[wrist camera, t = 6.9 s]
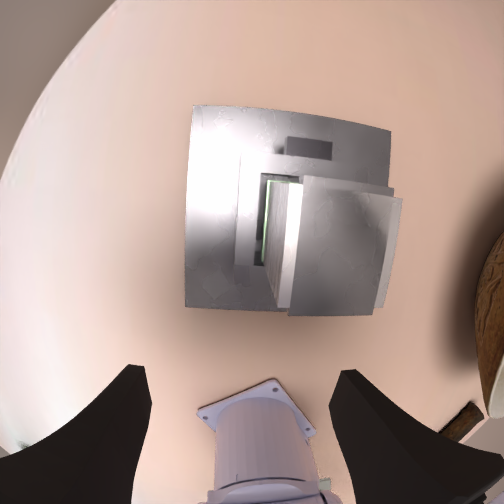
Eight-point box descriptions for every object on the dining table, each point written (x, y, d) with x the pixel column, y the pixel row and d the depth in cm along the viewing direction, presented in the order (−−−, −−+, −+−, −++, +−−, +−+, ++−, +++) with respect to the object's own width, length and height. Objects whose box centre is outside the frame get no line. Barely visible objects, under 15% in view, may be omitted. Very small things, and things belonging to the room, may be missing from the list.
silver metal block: (333, 266, 15) (381, 314, 10) (260, 262, 15) (275, 315, 9) (343, 183, 14) (404, 190, 8) (266, 175, 14) (289, 173, 8)
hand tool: (469, 397, 26) (486, 415, 22) (474, 404, 27) (489, 422, 23) (369, 476, 29) (377, 498, 25) (380, 479, 30) (388, 499, 26)
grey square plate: (361, 305, 20) (384, 330, 17) (187, 300, 20) (177, 329, 16) (384, 132, 17) (415, 126, 13) (195, 108, 16) (185, 91, 12)
